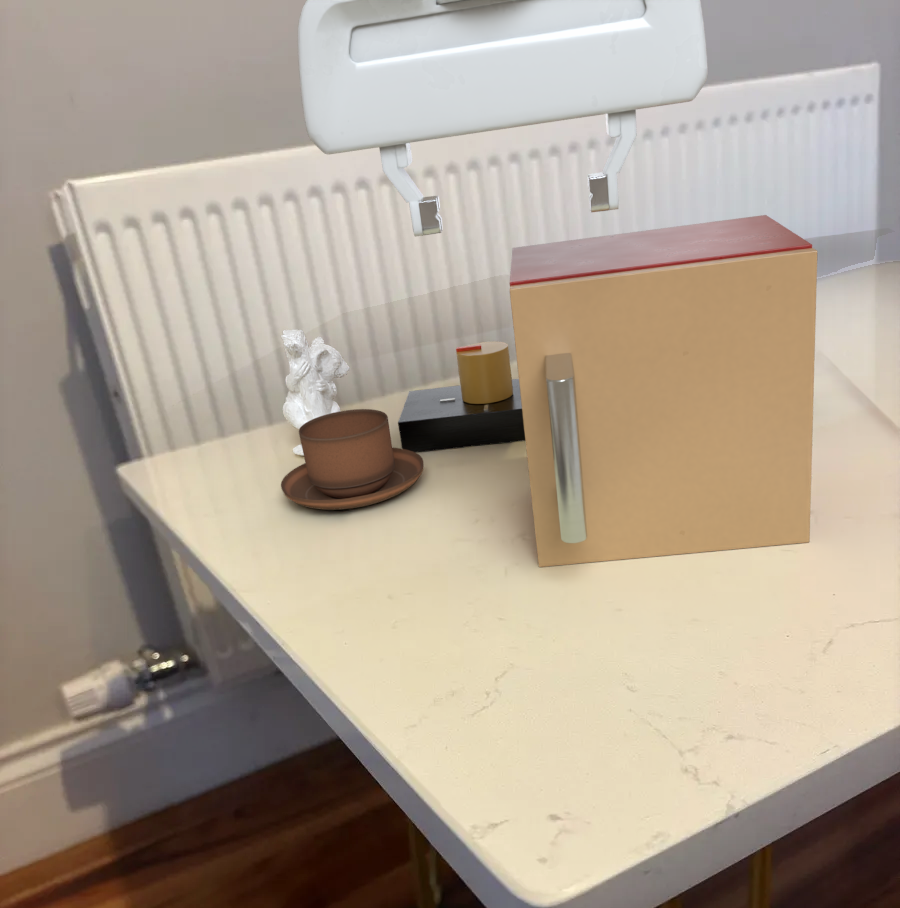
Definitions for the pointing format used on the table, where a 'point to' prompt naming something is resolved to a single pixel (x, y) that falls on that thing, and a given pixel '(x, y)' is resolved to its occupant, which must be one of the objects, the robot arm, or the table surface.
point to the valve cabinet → (652, 249)
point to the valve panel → (458, 420)
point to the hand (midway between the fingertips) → (515, 222)
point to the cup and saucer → (350, 462)
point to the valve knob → (484, 372)
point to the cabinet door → (669, 407)
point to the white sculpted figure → (310, 379)
